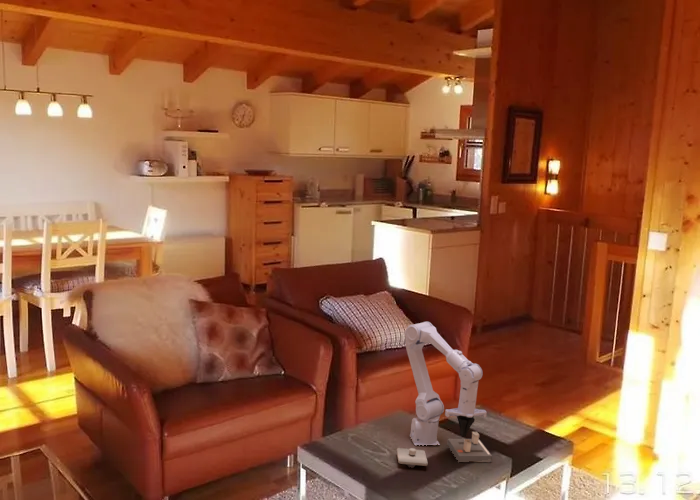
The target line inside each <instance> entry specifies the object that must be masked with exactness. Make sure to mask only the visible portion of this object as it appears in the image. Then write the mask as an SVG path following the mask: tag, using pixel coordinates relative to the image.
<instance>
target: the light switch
mask: <svg viewBox="0 0 700 500" xmlns="http://www.w3.org/2000/svg"><path fill="white" fill-rule="evenodd" d="M396 455H397V460H398V461H397V462H398V464H402V465H406V466H408V468H410V467H411V469H413V468H414V467H415V466H424V467H427V466H428V458H427V454H426V451H425V450H424V449H416V448H415V447H410V448H402V447H397V448H396Z"/></svg>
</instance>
